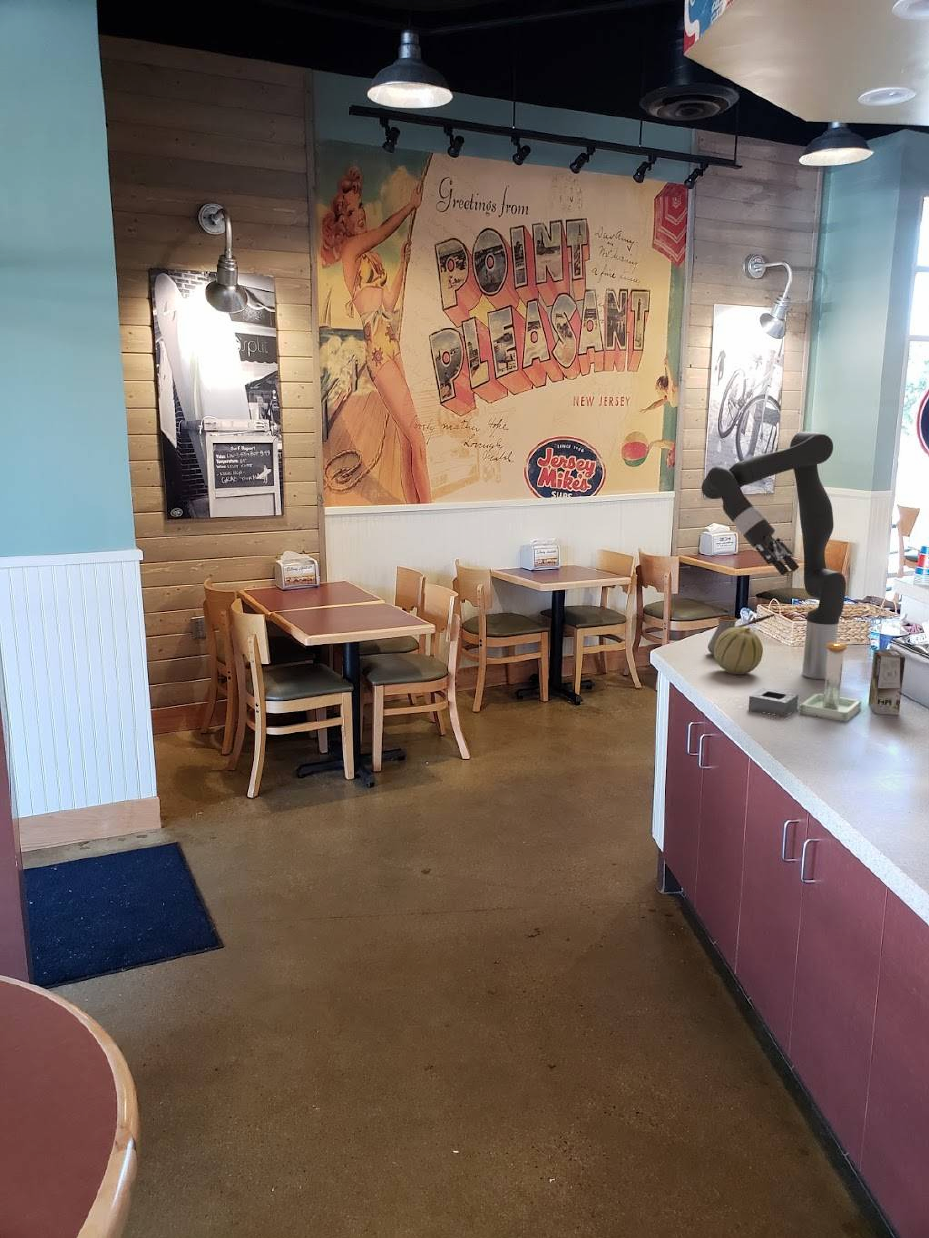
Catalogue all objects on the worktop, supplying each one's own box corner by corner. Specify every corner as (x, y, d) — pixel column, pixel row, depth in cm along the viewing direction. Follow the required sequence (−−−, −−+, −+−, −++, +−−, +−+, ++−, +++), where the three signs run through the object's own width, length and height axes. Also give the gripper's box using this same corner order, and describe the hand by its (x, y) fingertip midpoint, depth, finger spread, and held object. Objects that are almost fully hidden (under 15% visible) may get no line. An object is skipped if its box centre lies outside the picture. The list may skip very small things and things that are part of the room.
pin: (823, 704, 261) (829, 641, 258) (842, 708, 259) (848, 644, 255) (818, 709, 258) (824, 644, 254) (837, 712, 255) (843, 647, 251)
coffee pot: (709, 659, 312) (712, 615, 309) (705, 651, 323) (707, 608, 320) (776, 662, 310) (779, 617, 306) (769, 653, 321) (773, 610, 318)
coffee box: (899, 715, 255) (906, 657, 252) (874, 713, 257) (880, 656, 253) (891, 705, 264) (898, 649, 261) (867, 704, 265) (873, 648, 262)
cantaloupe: (717, 665, 306) (720, 619, 302) (764, 670, 299) (768, 624, 296) (707, 675, 293) (710, 628, 289) (756, 682, 286) (760, 633, 283)
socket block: (761, 701, 266) (762, 688, 266) (797, 708, 261) (798, 694, 260) (748, 710, 259) (749, 696, 258) (784, 717, 253) (786, 702, 252)
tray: (815, 701, 267) (816, 692, 267) (860, 709, 260) (861, 700, 260) (799, 713, 256) (800, 704, 256) (845, 722, 249) (846, 713, 249)
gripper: (754, 520, 258) (793, 566, 254) (772, 516, 269) (810, 560, 265) (734, 537, 262) (772, 583, 258) (752, 533, 273) (789, 576, 269)
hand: (791, 571), depth 261 cm, fingers open, 8 cm apart
